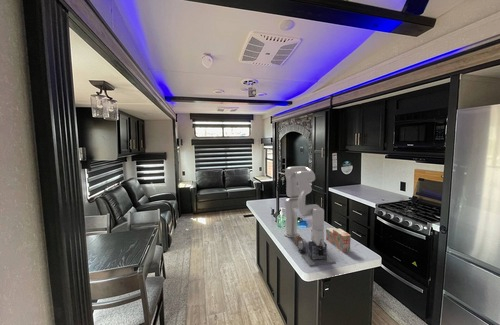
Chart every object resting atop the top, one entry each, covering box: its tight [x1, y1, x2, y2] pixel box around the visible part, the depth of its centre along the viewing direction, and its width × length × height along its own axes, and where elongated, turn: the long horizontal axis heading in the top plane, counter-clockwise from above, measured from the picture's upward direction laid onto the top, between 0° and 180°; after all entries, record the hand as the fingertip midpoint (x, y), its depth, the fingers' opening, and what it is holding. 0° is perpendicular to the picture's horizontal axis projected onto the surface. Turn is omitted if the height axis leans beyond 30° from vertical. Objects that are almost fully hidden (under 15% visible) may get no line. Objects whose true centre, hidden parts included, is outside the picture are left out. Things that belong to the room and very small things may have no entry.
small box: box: [308, 240, 328, 260], centre depth 146 cm, size 11×6×10 cm, turn 95°
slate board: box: [301, 253, 336, 267], centre depth 146 cm, size 13×18×1 cm
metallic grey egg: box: [298, 240, 307, 254], centre depth 157 cm, size 5×5×7 cm
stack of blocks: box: [325, 227, 352, 253], centre depth 165 cm, size 21×6×12 cm, turn 13°
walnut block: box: [293, 236, 304, 247], centre depth 168 cm, size 5×5×5 cm
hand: (317, 251), depth 146 cm, fingers open, 8 cm apart
